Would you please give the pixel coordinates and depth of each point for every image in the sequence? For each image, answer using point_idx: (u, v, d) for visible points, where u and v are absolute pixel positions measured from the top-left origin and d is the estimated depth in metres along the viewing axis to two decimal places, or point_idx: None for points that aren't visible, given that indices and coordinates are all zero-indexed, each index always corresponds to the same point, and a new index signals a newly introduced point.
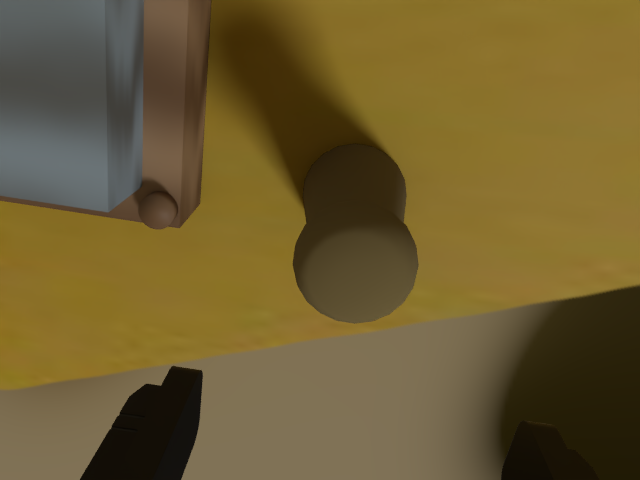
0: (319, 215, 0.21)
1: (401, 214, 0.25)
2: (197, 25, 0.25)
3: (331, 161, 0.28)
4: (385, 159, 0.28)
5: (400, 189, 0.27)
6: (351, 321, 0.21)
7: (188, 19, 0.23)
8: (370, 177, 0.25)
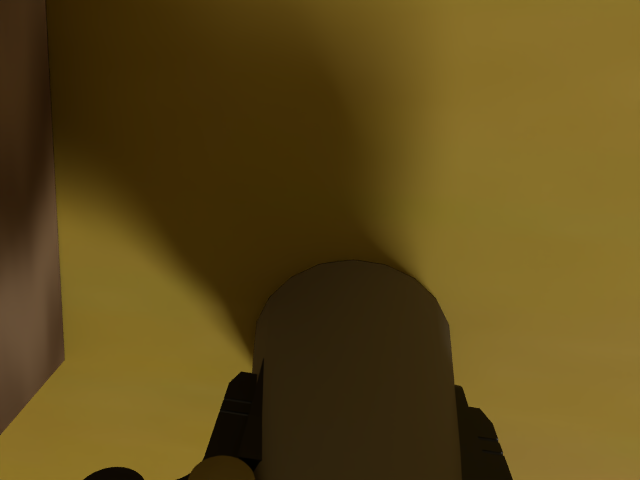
0: None
1: None
2: None
3: (303, 309, 0.13)
4: (414, 298, 0.14)
5: (448, 371, 0.13)
6: None
7: None
8: (388, 379, 0.11)
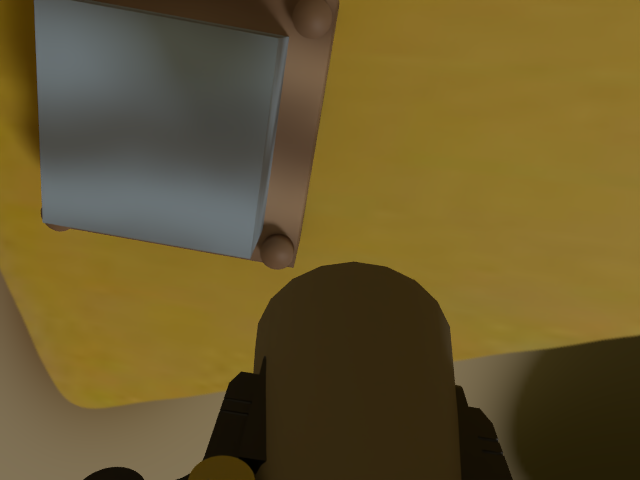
0: None
1: None
2: (324, 84, 0.27)
3: (304, 311, 0.13)
4: (415, 300, 0.14)
5: (449, 373, 0.13)
6: None
7: (324, 82, 0.25)
8: (390, 382, 0.11)
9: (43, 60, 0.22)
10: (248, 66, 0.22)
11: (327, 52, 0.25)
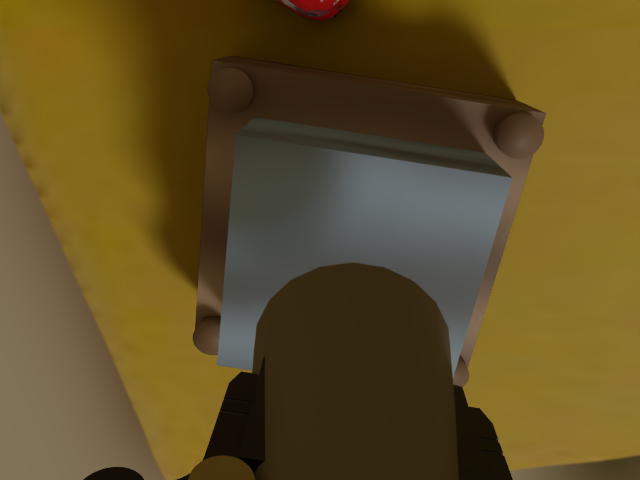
0: None
1: None
2: None
3: (303, 311, 0.13)
4: (414, 301, 0.14)
5: (448, 373, 0.13)
6: None
7: (519, 198, 0.23)
8: (388, 383, 0.11)
9: (238, 203, 0.19)
10: (473, 207, 0.19)
11: (527, 168, 0.22)
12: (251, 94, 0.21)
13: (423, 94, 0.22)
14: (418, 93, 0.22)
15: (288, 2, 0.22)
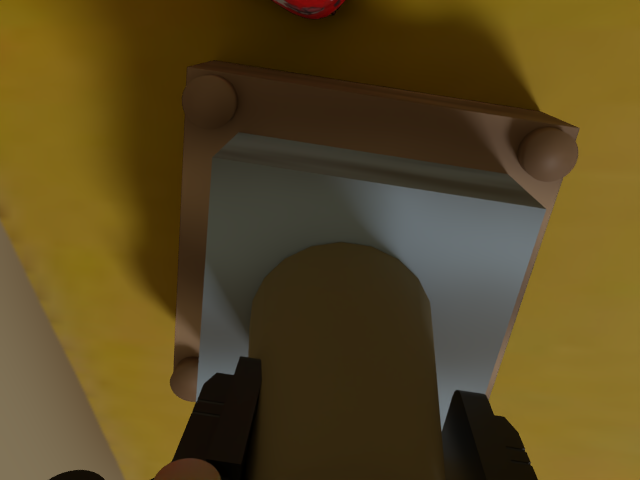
0: None
1: (440, 420, 0.12)
2: None
3: (296, 286, 0.15)
4: (398, 276, 0.15)
5: (429, 340, 0.14)
6: None
7: (546, 226, 0.20)
8: (375, 343, 0.12)
9: (216, 237, 0.16)
10: (498, 243, 0.16)
11: (556, 192, 0.19)
12: (233, 106, 0.18)
13: (436, 106, 0.18)
14: (430, 105, 0.18)
15: None
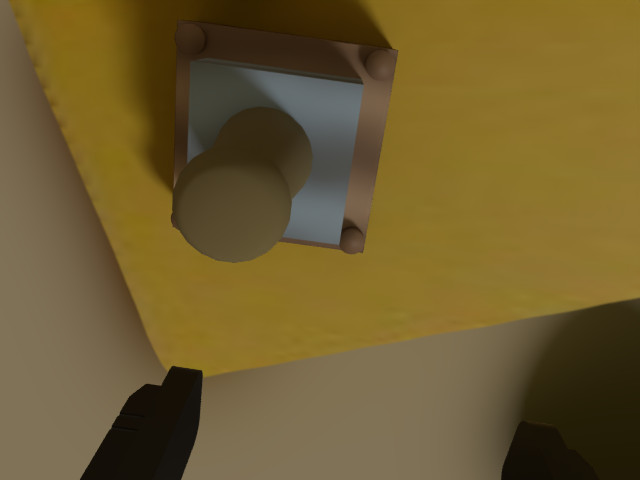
0: None
1: (292, 166, 0.26)
2: None
3: (233, 121, 0.29)
4: (287, 120, 0.30)
5: (298, 146, 0.29)
6: (227, 259, 0.22)
7: (387, 111, 0.34)
8: (261, 131, 0.26)
9: (194, 106, 0.31)
10: (341, 105, 0.30)
11: (390, 89, 0.34)
12: (203, 41, 0.32)
13: (317, 39, 0.33)
14: (314, 39, 0.33)
15: None
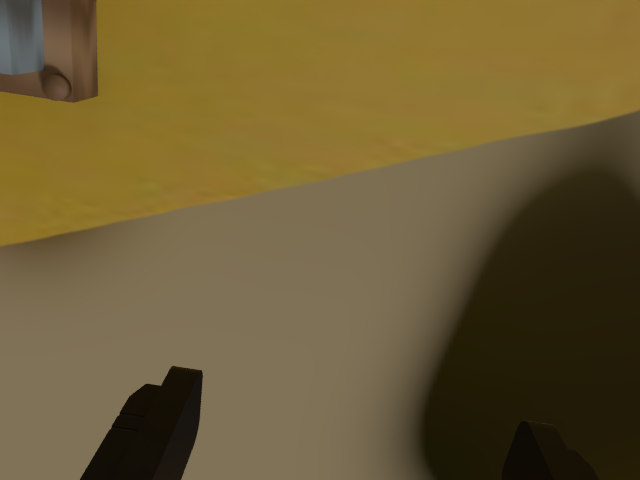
0: None
1: None
2: None
3: None
4: None
5: None
6: None
7: None
8: None
9: None
10: None
11: None
12: None
13: None
14: None
15: None
